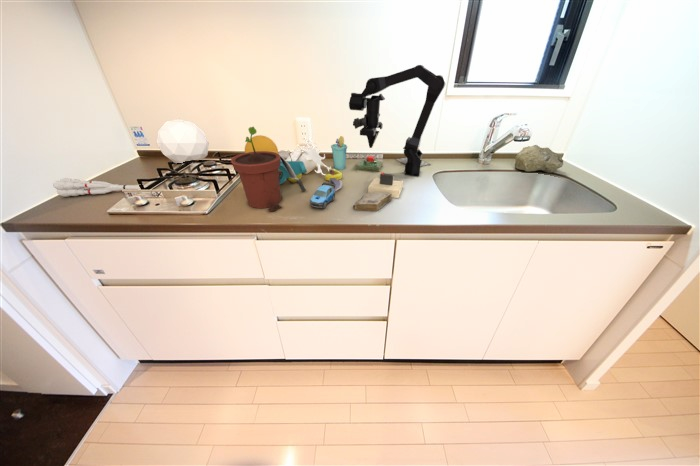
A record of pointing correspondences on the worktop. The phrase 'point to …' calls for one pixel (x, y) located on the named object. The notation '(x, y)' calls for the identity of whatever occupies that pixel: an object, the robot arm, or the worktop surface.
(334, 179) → the knife
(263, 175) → the potted plant
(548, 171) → the rock
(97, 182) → the rocket model
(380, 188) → the panel
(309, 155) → the white branched figurine
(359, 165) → the box
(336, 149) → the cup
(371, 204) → the stone
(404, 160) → the napkin holder
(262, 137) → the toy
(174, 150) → the geometric form
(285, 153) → the seashell
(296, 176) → the fruit
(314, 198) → the toy car
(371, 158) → the power button
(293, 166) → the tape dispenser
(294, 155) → the white small pieces
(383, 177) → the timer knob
